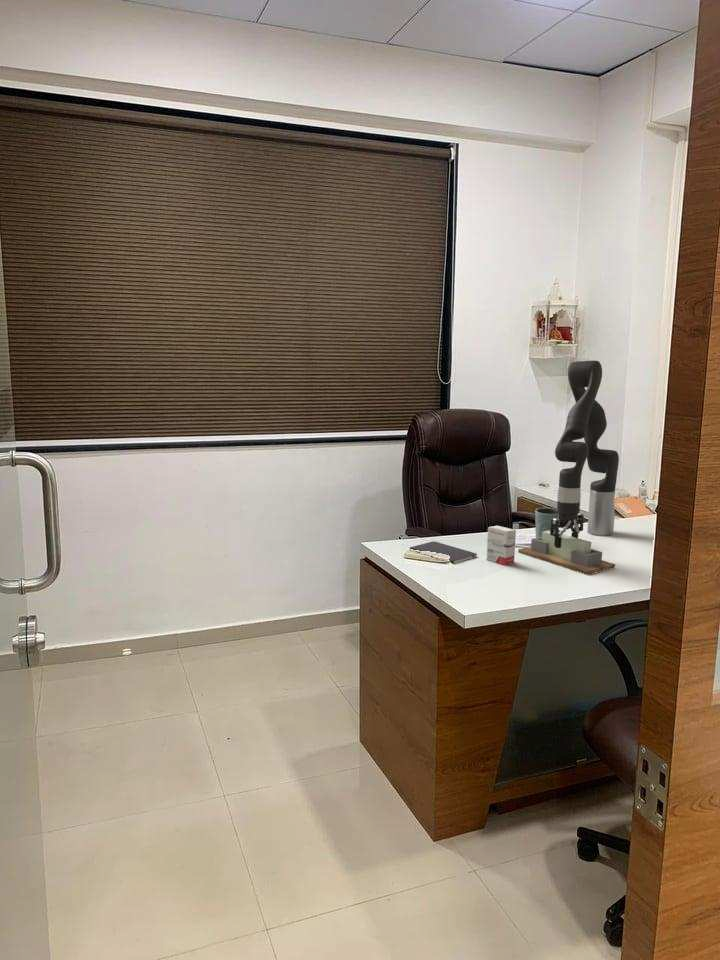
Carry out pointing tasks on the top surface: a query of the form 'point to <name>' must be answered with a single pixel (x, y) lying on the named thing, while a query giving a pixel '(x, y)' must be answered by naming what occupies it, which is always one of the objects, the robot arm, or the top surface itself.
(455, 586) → the top surface
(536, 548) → the end cap
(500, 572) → the top surface
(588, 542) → the pale green block
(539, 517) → the grey green cup
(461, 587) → the top surface
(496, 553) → the ink box
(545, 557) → the mounting board
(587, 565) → the end cap
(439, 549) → the notebook
